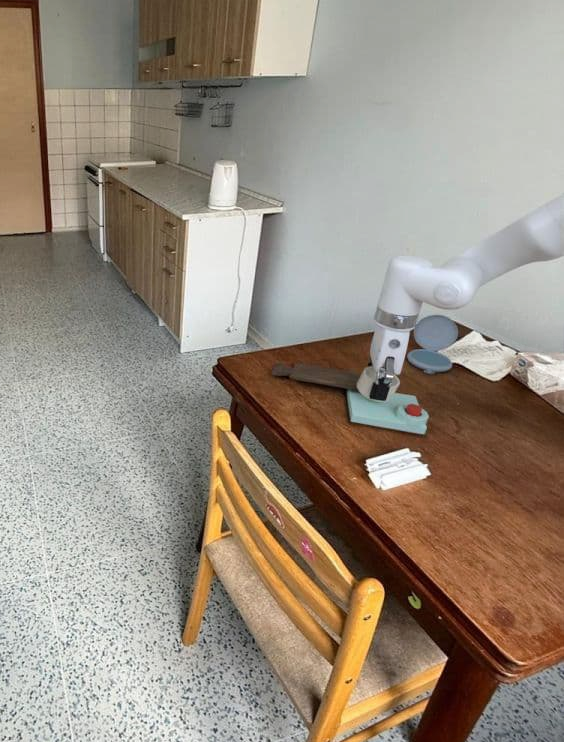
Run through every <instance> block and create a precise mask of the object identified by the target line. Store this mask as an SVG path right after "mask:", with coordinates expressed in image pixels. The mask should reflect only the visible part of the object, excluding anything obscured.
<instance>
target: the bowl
mask: <svg viewBox="0 0 564 742" xmlns="http://www.w3.org/2000/svg"><path fill="white" fill-rule="evenodd" d="M380 370H385V368H380ZM361 373H362V374H361V376H360V378H359V380H358V382H357V388H358V390H359V392H360V393H361V394H362V395H363V396H365V397H366V398H368V399H370V398H369V395H370V392H371V388H372V385H373V382H375V380H376V371H375V370H374V368H373V366H369V367H367V366H366V367H365V368H364V369H363V371H362V372H361ZM384 375H385V374H383V373H380V378H381V377H384ZM400 384H401V381H400V379H399V378H398V375H396V374H394V373H393V379H392V383H391V386H390V389H389V392H388V396H387V399H386V401H380V400H374V399H370V400H373V401H376V402H387V401H390V400H391V398H392V396H393V395H394V393H396V391H397V390H398V388H399V386H400Z"/></svg>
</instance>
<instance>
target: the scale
mask: <svg viewBox="0 0 564 742" xmlns="http://www.w3.org/2000/svg"><path fill="white" fill-rule="evenodd" d="M346 398H347V406H348V412H349V419H350V422H352V423H358V424H362V425H369V426H374V427H379V428H386V429H390V430H397V431H402V432H408V433H413V434H419V435H426V431H427V423H428V420H429V416H430V415H429V413H428V412H427V411H426V410H425V409H423V408H422V411H421V414H420V416H419V417H415V416H411V415H409V414H407V413H406V409H407V406H408V405H409V404H415V405H418V406H420V404H419V401H418V399H417V396H416V395H413V394H412V395H410V394H404V393H400V392H399V393H398V392H395V393H394V395H393V396H392V398H391V400H390V401H387V402H376V401H373V400H370V399H368V398H366V397H365V396H363V395H362V394H361V393H360V392H359V390H351V389H346Z"/></svg>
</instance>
